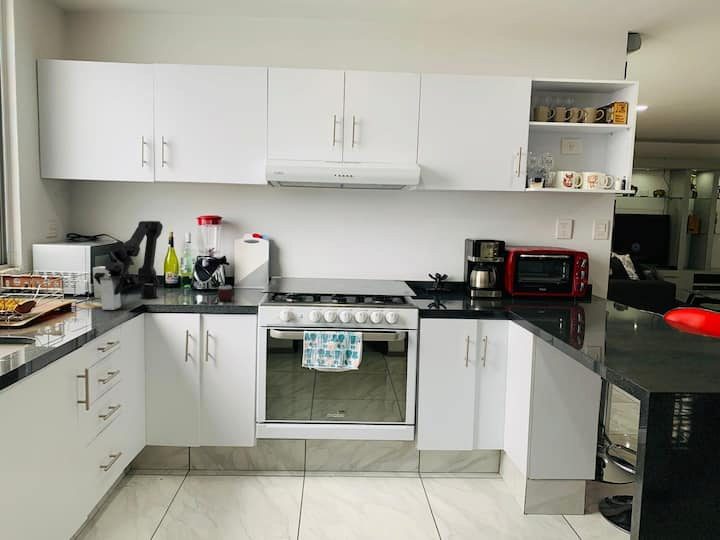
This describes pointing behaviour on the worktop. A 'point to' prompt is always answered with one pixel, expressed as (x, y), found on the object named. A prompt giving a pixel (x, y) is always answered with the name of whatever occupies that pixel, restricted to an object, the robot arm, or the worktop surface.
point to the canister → (110, 292)
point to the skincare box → (96, 285)
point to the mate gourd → (224, 292)
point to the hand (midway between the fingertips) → (109, 294)
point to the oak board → (89, 305)
